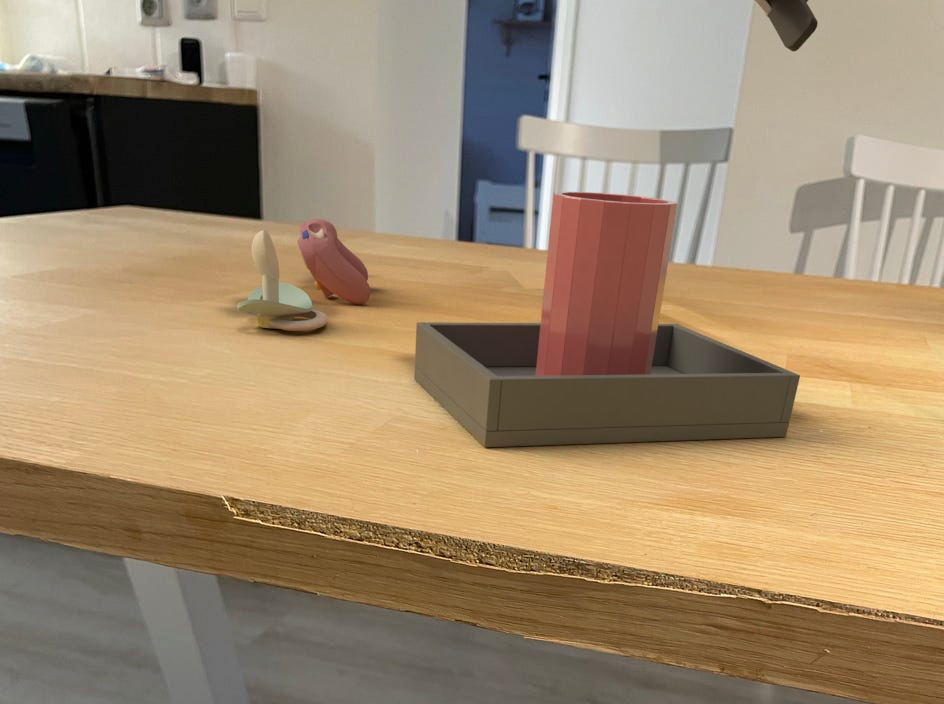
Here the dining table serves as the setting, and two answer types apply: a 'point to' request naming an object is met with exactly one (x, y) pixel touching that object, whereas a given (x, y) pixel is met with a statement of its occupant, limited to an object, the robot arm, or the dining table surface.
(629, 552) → the dining table surface
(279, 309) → the pacifier
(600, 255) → the tumbler
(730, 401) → the shallow grey tray
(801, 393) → the dining table surface
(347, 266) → the pink owl figurine
